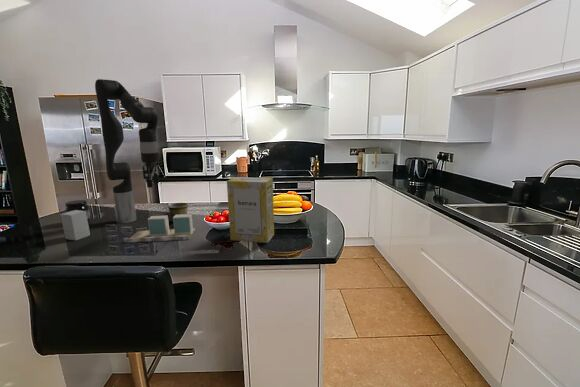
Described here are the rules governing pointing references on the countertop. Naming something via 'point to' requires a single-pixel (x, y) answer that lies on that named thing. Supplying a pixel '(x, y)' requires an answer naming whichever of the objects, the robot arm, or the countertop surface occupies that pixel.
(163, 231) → the carton
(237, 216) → the pasta box
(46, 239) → the countertop surface
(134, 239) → the shelf
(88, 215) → the supplement container
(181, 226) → the faced carton
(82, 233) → the supplement box
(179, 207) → the ceramic cup
